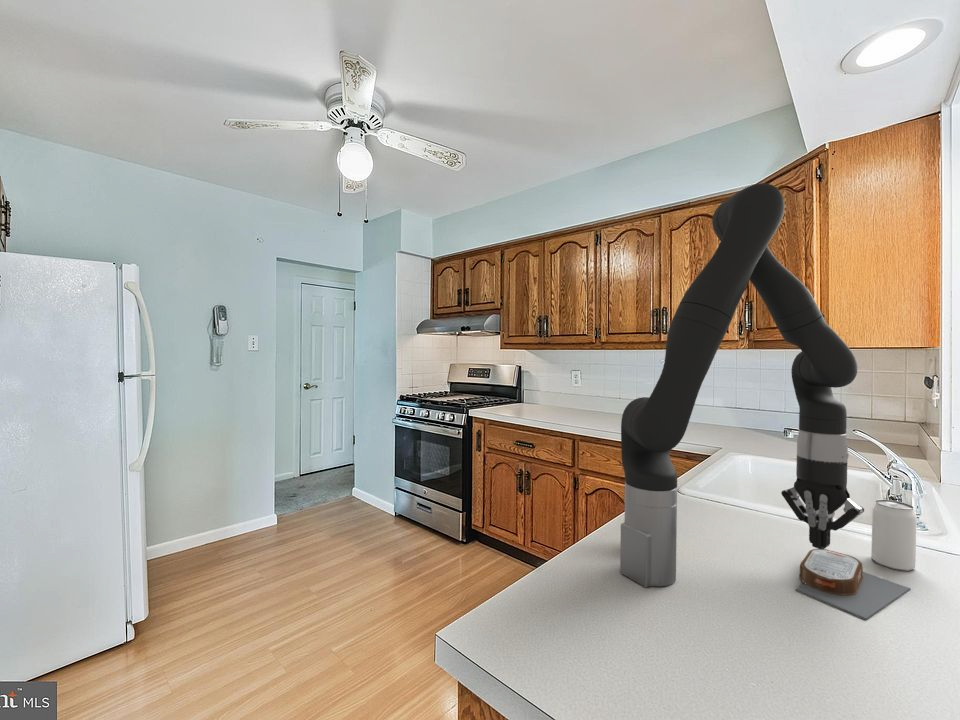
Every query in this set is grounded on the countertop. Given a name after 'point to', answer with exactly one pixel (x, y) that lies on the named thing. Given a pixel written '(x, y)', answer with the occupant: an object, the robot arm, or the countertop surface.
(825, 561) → the tin
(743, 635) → the countertop surface
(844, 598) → the mat
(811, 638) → the countertop surface
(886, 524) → the can
